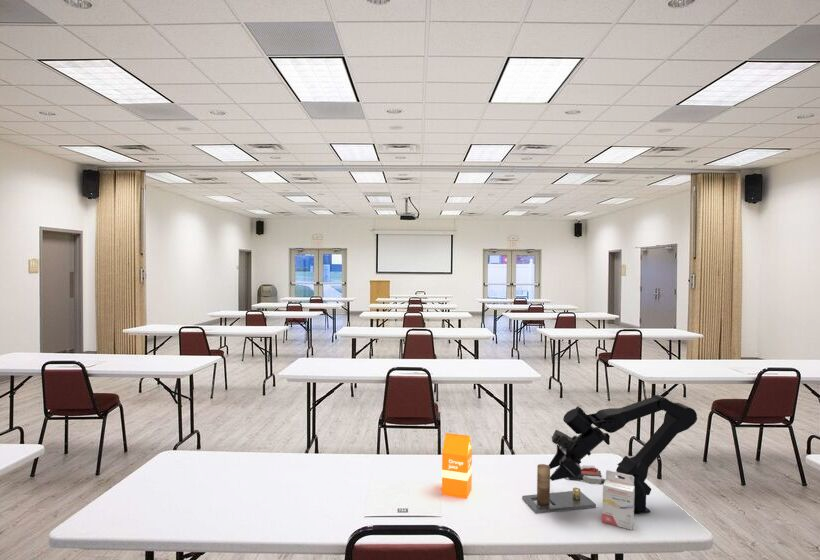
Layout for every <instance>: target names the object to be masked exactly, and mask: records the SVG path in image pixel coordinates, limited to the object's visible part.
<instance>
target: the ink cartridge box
mask: <svg viewBox="0 0 820 560" xmlns="http://www.w3.org/2000/svg"><path fill="white" fill-rule="evenodd" d="M617 476H621V477H624V478H625V479H620V478H618V477H617ZM605 479H606V480H605V482H604V483H603V486H602V507H601V508H602V510H601V511H602V514H601V519H602V520H601V522H602V523H605V524H608V525H611V526H615V527H618V526H619V528H622V527H623V529H626V528H627V529H626V530H629V529H630V531H632V530H633V527H634V523H635V514H634V493H635V486H634V476H632V475H627V474H623V473H618V472H617V471H613V470H606V472H605Z"/></svg>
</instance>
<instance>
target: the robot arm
mask: <svg viewBox="0 0 820 560" xmlns="http://www.w3.org/2000/svg"><path fill="white" fill-rule="evenodd" d="M660 411H664V412H665V413H664V417H663V422H662V424H661V425H660V426H659V427H658V429H657V430H656V431H655V432H654V433H653V434H652V436H651V437H650V438H649V439H648V440H647V441H646V443H645V444H644V445H643V446H642V447H641V449H640V450H639V451H638V452H637V453H636V454H635V455H634V456H632V457H628V456H627V455H625V456H623V458H622V459H621V461H620V462H619V463H617V464H616V465H617V468H616V469H615V470H616V471H615V472H618V473H623V474H627V475H632V476H634V486H635V493H634V515H635V514H642V513H643V514H644V513H651V509H649V508H648V507H647V496H650V494H651V491H652V488H651V487H650V486H649V485H648V484H647V483H646V482H645V481H646V479H647V477H648V473H649V469H650V466H651V465H652V464H653V463H654V462H655V461H656V460H657V458H658V457H659V456H660V455H661V454H662V452H664V450H665V449H666V448H667V447H668V445H669V444H670V443H671V442H672V440H674V439H675V437H676V436H677V435H678V434H680V433H682V432H686V431H687V430H689V429H690V428H691V427H692V426H693V425H694V424H695V423H696V422H697V421H698V414H697V412H696V410H695V409H694V408H693V407H689V406H687V405H685V404H683V403H680V402H673V401H670V400H669V399H668V398H667V397H665V396H662V395H659V394H654V395H651V397H648V398H645V399H642V400H640V401H637V402H634V403H631V404H628V405H625V406H622V407H617V408H616V407H614V408H613V407H612V408H603V409H599V410H598V411H596V412H595V413H594V412H593V413H589V414H587V413H586V412H585V411H584V410H583V409H582V407H580V406H576V407H575V408H572V409H570V410H568V411H567V412H565V414H564V416H563V422H564V424H566V425H567V426H568V427H569V428H570V429H571V430H572V431H573V432H574V433H575V434H577V435H578V436H577V435H573V436H572V437H571V436H569V435H568V434H565V433H564V432H562V431H560V430H558V429H555V431H554V432H553V434H552V436H551V442H552V443H553V444H555V445H556V453H555V454H554V456H553V458H552V459H551V460H550V462H549V463H548V464H547V465H548V466H550V470H551V469H555V468H556V467H557V468H556V470H554V472H553V473H552V474H550V481H551V482H553V481H554V482H555V481H557V480H562V479H568V477H576V478H577V477H578V476H579V475H581V465H580V464H581V463H582V461H581V460H583V459H584V458H585V457H586V456H588V457H590V455H591V454H592V453H591V452H592V451H593V450H595V448H596V447H597V446H598V445H601V443H602V442H604V443H605V444H606V445H608V446H609V445H611V443H610V438H611V436H610V434H613V433H615V432H617V431H619V430H621V429H623V428H624V427H625V425H626V424H627V423H630V422H631V421H635V420H638V419H640V418H644V417H646V416H649V415H651V414H652V415H653V414H655V413H657V412H660ZM593 425H594V426H593ZM601 429H602V430H603V431H602V430H601ZM604 431H605V432H604ZM609 433H610V434H609ZM616 478H620V479H625V478H624V477H621V476H616Z"/></svg>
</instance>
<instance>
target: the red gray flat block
mask: <svg viewBox="0 0 820 560" xmlns="http://www.w3.org/2000/svg"><path fill="white" fill-rule="evenodd" d="M580 467H581V475H579V476H578V477H577V478H576V477H568V478H567V480H571V481H581V480H583V482H584V481H585V483H587V482H589V483H588V484H593V483H598V484H597V485H601V484H602V483H603V484H604V482H605V480H606V478H603V475H602V472H601V470H599V468H596V466H595V465H585V464H584V465H580Z"/></svg>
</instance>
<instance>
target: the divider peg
mask: <svg viewBox="0 0 820 560" xmlns="http://www.w3.org/2000/svg"><path fill="white" fill-rule="evenodd" d="M548 465H549V464H544V463H540V464H537V470H536V471H537V472H536V473H537V475H536V482H537V483H536V494H537V500H536V504H537V505H538V506H539V507H541V506H551V505H550V504H551V503H550V493H551V479H550V477H551V469H550V466H548Z"/></svg>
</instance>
